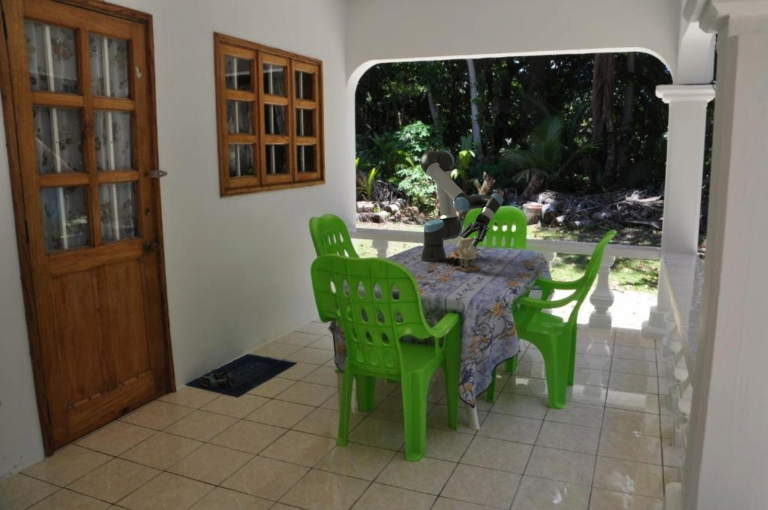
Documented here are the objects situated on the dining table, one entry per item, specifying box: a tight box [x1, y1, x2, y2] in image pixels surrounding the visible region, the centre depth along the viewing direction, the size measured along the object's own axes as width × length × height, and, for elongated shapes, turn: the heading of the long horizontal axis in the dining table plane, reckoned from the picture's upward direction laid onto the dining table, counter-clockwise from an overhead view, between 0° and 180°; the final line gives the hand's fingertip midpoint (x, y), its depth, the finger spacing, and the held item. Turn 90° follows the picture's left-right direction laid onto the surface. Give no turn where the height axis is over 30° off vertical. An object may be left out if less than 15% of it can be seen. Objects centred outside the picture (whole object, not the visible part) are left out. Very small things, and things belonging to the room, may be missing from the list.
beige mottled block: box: [458, 237, 477, 261], centre depth 346 cm, size 5×8×11 cm, turn 127°
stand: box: [454, 258, 481, 274], centre depth 347 cm, size 9×11×6 cm
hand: (463, 248), depth 344 cm, fingers open, 9 cm apart
